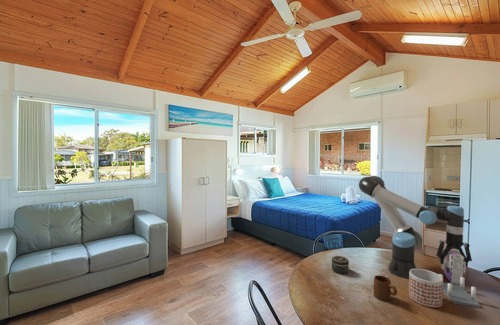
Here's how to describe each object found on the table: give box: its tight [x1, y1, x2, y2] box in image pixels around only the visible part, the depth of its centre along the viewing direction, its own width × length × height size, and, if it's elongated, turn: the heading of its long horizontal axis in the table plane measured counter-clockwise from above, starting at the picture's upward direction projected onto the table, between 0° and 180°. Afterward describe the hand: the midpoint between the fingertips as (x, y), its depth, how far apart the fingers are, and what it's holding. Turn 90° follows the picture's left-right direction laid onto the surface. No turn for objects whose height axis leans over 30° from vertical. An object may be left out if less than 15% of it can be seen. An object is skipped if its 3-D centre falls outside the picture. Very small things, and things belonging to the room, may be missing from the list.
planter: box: [408, 268, 444, 309], centre depth 122 cm, size 14×14×13 cm
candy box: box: [443, 246, 464, 285], centre depth 142 cm, size 14×6×16 cm, turn 154°
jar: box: [331, 255, 350, 275], centre depth 151 cm, size 10×10×8 cm
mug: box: [373, 275, 398, 302], centre depth 121 cm, size 12×8×9 cm, turn 20°
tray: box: [438, 273, 482, 309], centre depth 127 cm, size 12×20×7 cm, turn 163°
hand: (453, 270), depth 142 cm, fingers open, 9 cm apart
